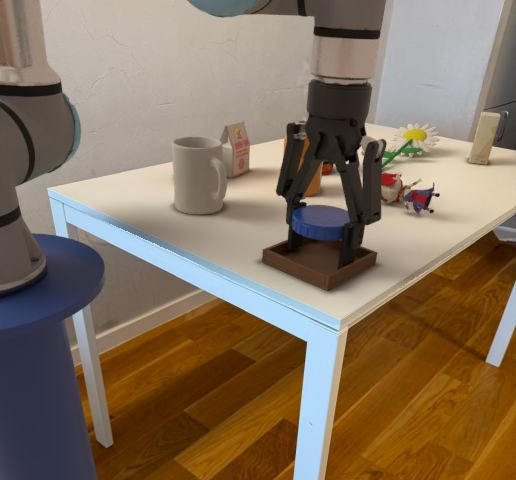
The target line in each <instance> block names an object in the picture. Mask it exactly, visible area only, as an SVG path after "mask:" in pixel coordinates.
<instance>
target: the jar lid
mask: <svg viewBox="0 0 516 480" xmlns="http://www.w3.org/2000/svg"><path fill="white" fill-rule="evenodd" d="M348 222H350V219H349V214H348V210H347V209H345V208H341V207H337V206H333V205H327V204H326V205H325V204H308V205H306V206H302V207H299V208H297V209H295V210H294V212H293V216H292V224H291V225H292V228H293V230H294V231H295V232H297V233H298V234H300V235H302V236H305V237H308V238H312V239H317V240H326V241H332V240H342V235H343V229H344V224H346V223H348Z"/></svg>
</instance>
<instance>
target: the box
mask: <svg viewBox="0 0 516 480" xmlns="http://www.w3.org/2000/svg"><path fill="white" fill-rule="evenodd" d="M501 117H502V116H501V114H500V113H498V112H488V111H481V112H480V116H479V119H478V123H477V127H476V130H475V135H474V139H473V143H472V146H471V150H470V154H469V157H468V162H469V164H478V165H487V166H488V162H489V159H490V155H491V151H492V149H493V145H494V142H495V138H496V134H497V132H498V131H497V130H498V128H499V123H500V120H501Z"/></svg>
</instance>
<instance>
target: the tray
mask: <svg viewBox="0 0 516 480" xmlns="http://www.w3.org/2000/svg"><path fill="white" fill-rule="evenodd" d="M287 241H288V239H286V240H285V239H284V240H282V241H281V242H278V243H275V244H273V245H270V246H268V247H265V248H263V249H262V257H261V263H263V264H266V265H267V266H269V267H272V268H274V269H276V270H279V271H281V272H283V273H285V274H287V275H290V276H292V277H295V278H297V279H300V280H301V281H303V282H305V283H308V284H310V285H313V286H315V287H317V288H320V289H322V290H324V291H326V292H329V291H330V290H332V289H334V288H336V287H337V286H339V285H341V284H343V283H345V282H347V281H348V280H351V279H353V278H354V277H357V276H358V275H360V274H361V273H363V272H365V271H367V270H369V269H371V268H373V267H374V266H376V265H377V259H378V253H379V252H377V251H375V250H373V249H369V248H367V247H364V246H363V245H361V246H360V247H358V248H356V252H355V258H354V262H352V263H350V264H348V265H346V266H344V267H342V268H340V269H338V262H339V256H340V249H341V242H342V240H332V241H326V240H317V239H312V238H308V237H305V236H303V244H302V246H300V247H298V248H296V249H293V250H288V249H287ZM337 269H338V270H337Z"/></svg>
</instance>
